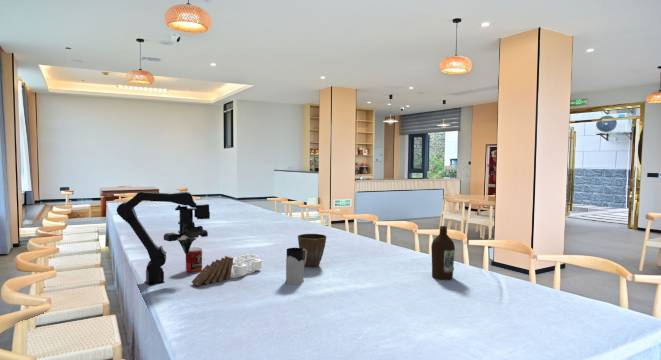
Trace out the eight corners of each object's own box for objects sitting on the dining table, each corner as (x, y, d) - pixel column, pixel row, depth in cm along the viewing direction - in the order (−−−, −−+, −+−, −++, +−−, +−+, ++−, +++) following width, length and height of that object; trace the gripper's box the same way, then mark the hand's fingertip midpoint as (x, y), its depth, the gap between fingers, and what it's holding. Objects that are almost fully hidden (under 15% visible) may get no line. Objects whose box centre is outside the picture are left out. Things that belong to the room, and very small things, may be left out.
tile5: (226, 280, 185) (229, 258, 186) (220, 277, 189) (224, 256, 189) (229, 280, 186) (233, 258, 187) (224, 277, 190) (228, 256, 191)
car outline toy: (238, 280, 186) (238, 264, 186) (220, 276, 192) (220, 261, 192) (266, 270, 204) (266, 256, 203) (249, 267, 209) (249, 253, 209)
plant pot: (327, 263, 219) (327, 234, 218) (324, 270, 204) (324, 239, 203) (300, 262, 220) (300, 233, 219) (295, 269, 205) (295, 238, 205)
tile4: (217, 280, 182) (226, 259, 185) (212, 278, 186) (221, 257, 188) (221, 281, 183) (230, 260, 186) (216, 279, 187) (224, 258, 190)
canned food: (191, 274, 196) (191, 251, 195) (182, 271, 200) (182, 249, 200) (205, 270, 202) (205, 248, 201) (195, 268, 206) (195, 246, 206)
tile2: (204, 282, 177) (217, 262, 181) (199, 280, 181) (212, 260, 185) (207, 284, 178) (220, 264, 182) (202, 282, 182) (215, 262, 186)
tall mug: (281, 283, 182) (281, 250, 182) (298, 275, 195) (298, 244, 194) (297, 286, 178) (297, 252, 178) (313, 278, 191) (314, 246, 190)
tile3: (211, 281, 180) (222, 260, 184) (205, 279, 183) (215, 258, 187) (214, 283, 181) (225, 262, 185) (208, 280, 184) (218, 260, 188)
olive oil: (425, 277, 193) (427, 225, 192) (441, 274, 199) (442, 223, 198) (443, 283, 185) (444, 228, 184) (458, 279, 190) (460, 226, 189)
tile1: (195, 284, 174) (212, 266, 179) (190, 281, 178) (206, 264, 183) (198, 287, 175) (214, 268, 180) (193, 284, 179) (209, 266, 184)
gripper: (174, 223, 172) (174, 260, 173) (213, 219, 186) (214, 253, 186) (162, 221, 180) (163, 256, 180) (201, 217, 193) (201, 249, 194)
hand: (186, 253), depth 185 cm, fingers closed
